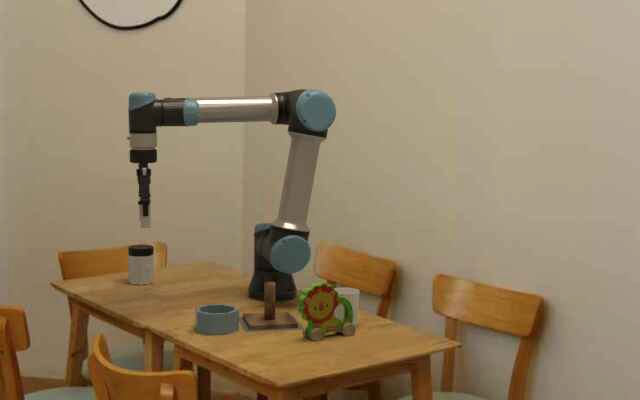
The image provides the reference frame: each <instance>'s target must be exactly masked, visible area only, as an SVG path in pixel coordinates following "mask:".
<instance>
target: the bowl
mask: <svg viewBox="0 0 640 400" xmlns="http://www.w3.org/2000/svg"><path fill="white" fill-rule="evenodd" d="M239 317H240V311H239V308H238V307H237V306H236V305H231V304H224V303H218V304H217V303H215V304H214V303H212V304H209V303H208V304H205V305H201V306H198V307H195V331H196V332H197V333H198V334H203V335H208V336H218V335H219V336H221V335H230V334H233V333H236V332H238V331H239V330H240V329H239V328H240V327H239V326H240V322H239Z"/></svg>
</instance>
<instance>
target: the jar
mask: <svg viewBox="0 0 640 400" xmlns="http://www.w3.org/2000/svg"><path fill="white" fill-rule="evenodd" d="M127 249H128V250H127V251H128V252H127V253H128V256H127V257H128V284H129V283H135V284H147V283H152V282H154V283H155V271H154V269H155V267H154V266H155V265H154V264H155V262H154V261H155V260H154V254H155V253H154V252H155V251H154V250H155V249H154V246H153V245H151V244H133V245H132V244H131V245H129V246H128V247H127Z"/></svg>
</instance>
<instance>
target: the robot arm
mask: <svg viewBox="0 0 640 400" xmlns="http://www.w3.org/2000/svg"><path fill="white" fill-rule="evenodd" d="M127 111H128V114H127V115H128V132H129V135H128V136H126V140H127V141H129V148H131V149H129V162H130V163H131V164H137V167H138V168H136V177H137V184H138V200H137V205H138V213H139V214H138V215H139V217H138V219H139V220H138V221H140V229H151V228H152V226H151V224H152V222H151V221H152V220H151V216H152V215H151V193H150V192H151V190H150V188H151V187H150V185H151V183H152V182H151V179H152V169H151V168H150V167H149V164H155V163H157V162H158V150H157V149H156V148H157V147H158V134H157V133H158V132H157V127H161V128H163V127H185V128H187V127H195V126H198V124H211V123H212V124H213V123H214V124H215V123H216V124H217V123H221V124H222V123H252V122H253V123H254V122H257V123H258V122H270V124H272V125H284V126H288V128H287V134H288V135H289V137H290V145H289V152H288V157H287V162H286V168H285V175H284V178H283V185H282V190H281V195H280V196H281V197H280V203H279V208H278V214H277V218H276V219H275V220H274V221H273V222H263V223H256V224H255V226H254V230H253V231H254V232H253V274H252V277H251V279H250V282H249V286H248V290H247V296H248V297H249V298H251V299H252V300H256V301H264V287H265V282H275V302H282V301H288V300H292V299H296V298H297V296H298V290H297V285H296V281H295V279H294V276H293V274H295V273H298V272H300V271H302V270H303V269H305V267H307V265H308V263H309V262H310V259H311V256H312V250H311V247H310V243H309V238H310V233H311V232H310V231H311V230H310V227H308V225H307V219H308V216H309V215H308V214H309V208H310V203H311V197H312V193H313V188H314V187H313V186H314V180H315V174H316V170H317V164H318V158H319V152H320V147H321V144H322V143H323V142H324V141H326V140H327V138H328V137H327V136H328V131H329V128H330V127H331V126H332V125H333V123H334V122H335V119H336V115H337V107H336V104H335V102H334V100H333V98H332V97H331V96H330V95H329V94H327V93H326V92H323V91H322V90H318V89H312V88H311V89H305V88H304V89H302V88H300V89H295V90H289V91H282V92H270V94H269V95H266V96H265V95H263V96H260V95H259V96H217V97H215V96H212V97H210V96H209V97H174V98H173V97H164V98H161V99H158V98H157V95H156V93H155V92H132V93H130V94H129V96H128V108H127Z"/></svg>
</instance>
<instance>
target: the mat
mask: <svg viewBox="0 0 640 400" xmlns="http://www.w3.org/2000/svg"><path fill="white" fill-rule="evenodd" d="M290 315H291V316H292V317H293V318H294V320H295V321H296V322H297V323H298V328H286V329H265V330H250V329H249V328H248V326H247V324H246V323H245V321H244V319H243V316H239V325H241V327H242V329H243V332H245V333H253V332H257V333H258V332H275V331H278V332H279V331H294V330H295V331H297V330H303V329H304V327H303V326H302V325H301V323H300V322H299V321H298V319H296V317H295V316H294V315H293V314H290Z"/></svg>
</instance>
